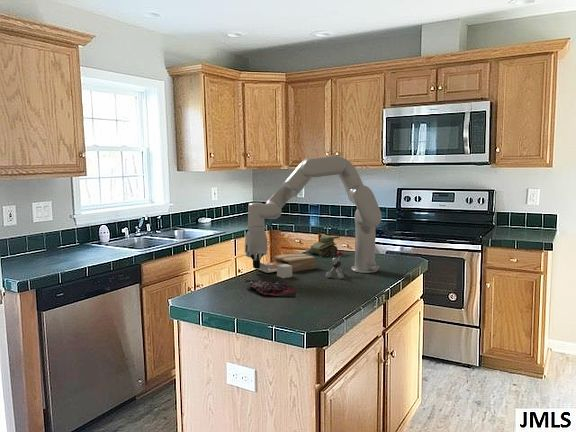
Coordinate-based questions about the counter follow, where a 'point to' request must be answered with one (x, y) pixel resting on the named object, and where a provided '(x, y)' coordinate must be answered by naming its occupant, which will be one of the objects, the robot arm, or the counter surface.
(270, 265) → the peach dome
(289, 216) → the counter surface
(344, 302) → the counter surface
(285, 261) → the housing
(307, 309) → the counter surface
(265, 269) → the tray
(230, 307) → the counter surface
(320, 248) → the toy
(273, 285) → the fabric swatch
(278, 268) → the block
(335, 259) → the molecular model
